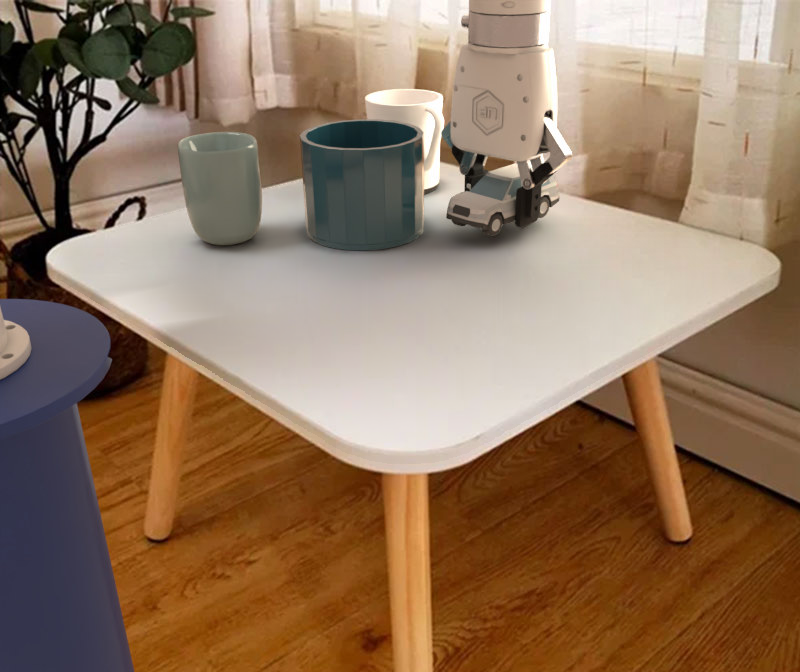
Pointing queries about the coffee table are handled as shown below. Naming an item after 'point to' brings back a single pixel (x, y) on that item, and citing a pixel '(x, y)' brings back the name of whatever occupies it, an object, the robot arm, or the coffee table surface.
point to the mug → (414, 121)
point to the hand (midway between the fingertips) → (501, 215)
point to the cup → (222, 185)
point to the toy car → (496, 200)
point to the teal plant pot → (363, 183)
